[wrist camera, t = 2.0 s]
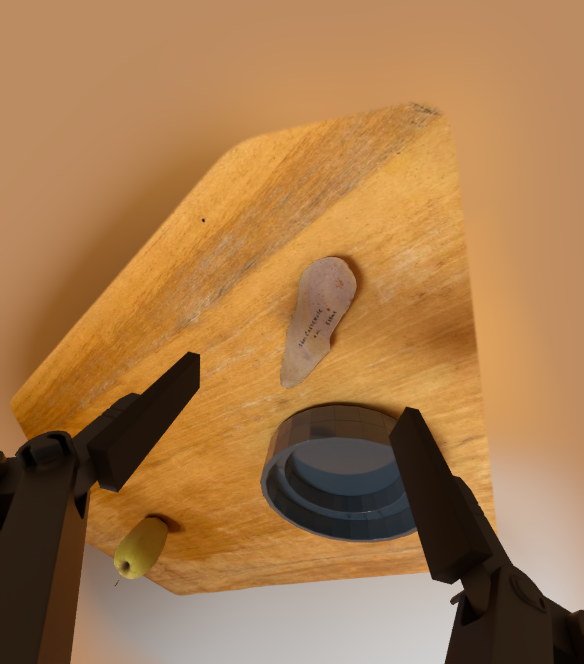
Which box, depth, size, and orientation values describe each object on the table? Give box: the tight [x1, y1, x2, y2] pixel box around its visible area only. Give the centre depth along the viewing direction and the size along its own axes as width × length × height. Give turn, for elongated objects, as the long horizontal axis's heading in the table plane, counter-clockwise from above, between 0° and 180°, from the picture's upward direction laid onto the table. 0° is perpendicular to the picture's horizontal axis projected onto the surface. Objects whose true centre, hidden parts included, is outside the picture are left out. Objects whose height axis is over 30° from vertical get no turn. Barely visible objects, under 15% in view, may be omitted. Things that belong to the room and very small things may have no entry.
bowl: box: [260, 405, 417, 543], centre depth 28 cm, size 20×20×5 cm
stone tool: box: [280, 256, 357, 389], centre depth 22 cm, size 5×2×15 cm
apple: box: [114, 517, 168, 586], centre depth 43 cm, size 8×8×10 cm
